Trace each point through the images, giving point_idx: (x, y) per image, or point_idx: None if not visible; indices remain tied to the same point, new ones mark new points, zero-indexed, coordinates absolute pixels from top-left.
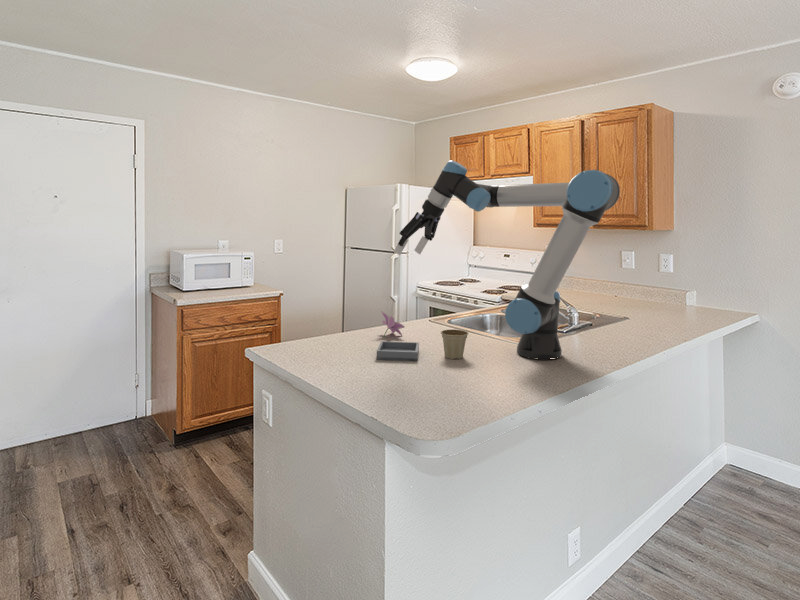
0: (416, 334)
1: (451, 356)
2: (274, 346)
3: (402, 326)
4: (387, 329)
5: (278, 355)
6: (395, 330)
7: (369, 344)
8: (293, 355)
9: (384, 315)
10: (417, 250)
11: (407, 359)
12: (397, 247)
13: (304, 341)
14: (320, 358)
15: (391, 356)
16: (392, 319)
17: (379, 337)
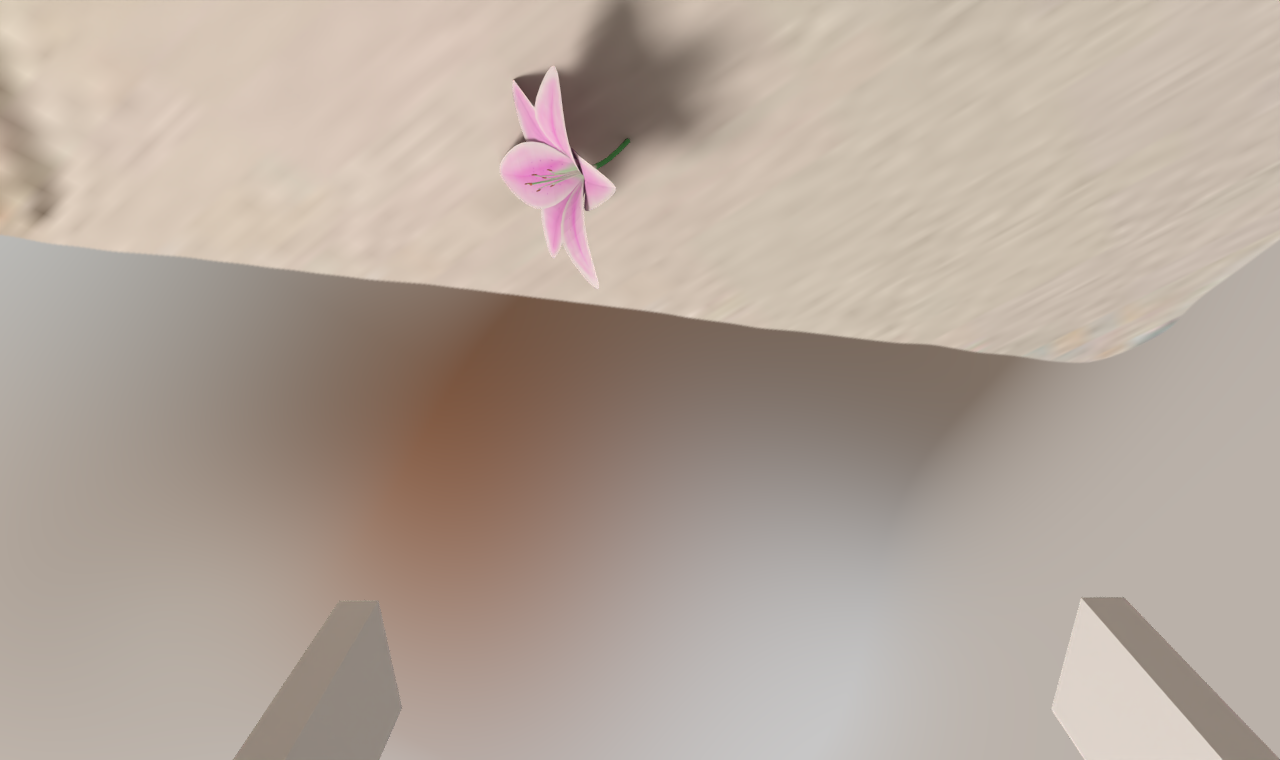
0: (396, 33)
1: None
2: (1039, 342)
3: (551, 90)
4: (596, 165)
5: (1197, 253)
6: (537, 138)
7: (833, 93)
8: (1190, 214)
9: (581, 253)
10: (374, 692)
11: None
12: None
13: (914, 325)
14: (1245, 90)
15: None
16: (592, 177)
17: (646, 156)
